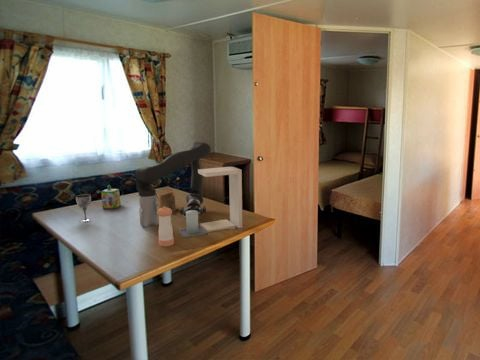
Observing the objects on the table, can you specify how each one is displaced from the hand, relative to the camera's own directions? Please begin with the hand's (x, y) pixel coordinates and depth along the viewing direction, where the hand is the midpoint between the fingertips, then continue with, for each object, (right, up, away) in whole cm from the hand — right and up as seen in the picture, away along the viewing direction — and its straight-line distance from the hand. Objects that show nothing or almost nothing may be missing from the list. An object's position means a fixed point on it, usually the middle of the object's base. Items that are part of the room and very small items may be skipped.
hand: (192, 214), depth 192 cm
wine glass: (-65, -6, +16) cm, 67 cm away
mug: (-23, -1, +35) cm, 42 cm away
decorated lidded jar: (-60, 0, +45) cm, 75 cm away
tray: (+1, -10, -9) cm, 13 cm away
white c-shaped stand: (+14, -7, 0) cm, 16 cm away
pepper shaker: (-9, -13, -24) cm, 28 cm away
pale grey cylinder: (+1, -9, -9) cm, 13 cm away
